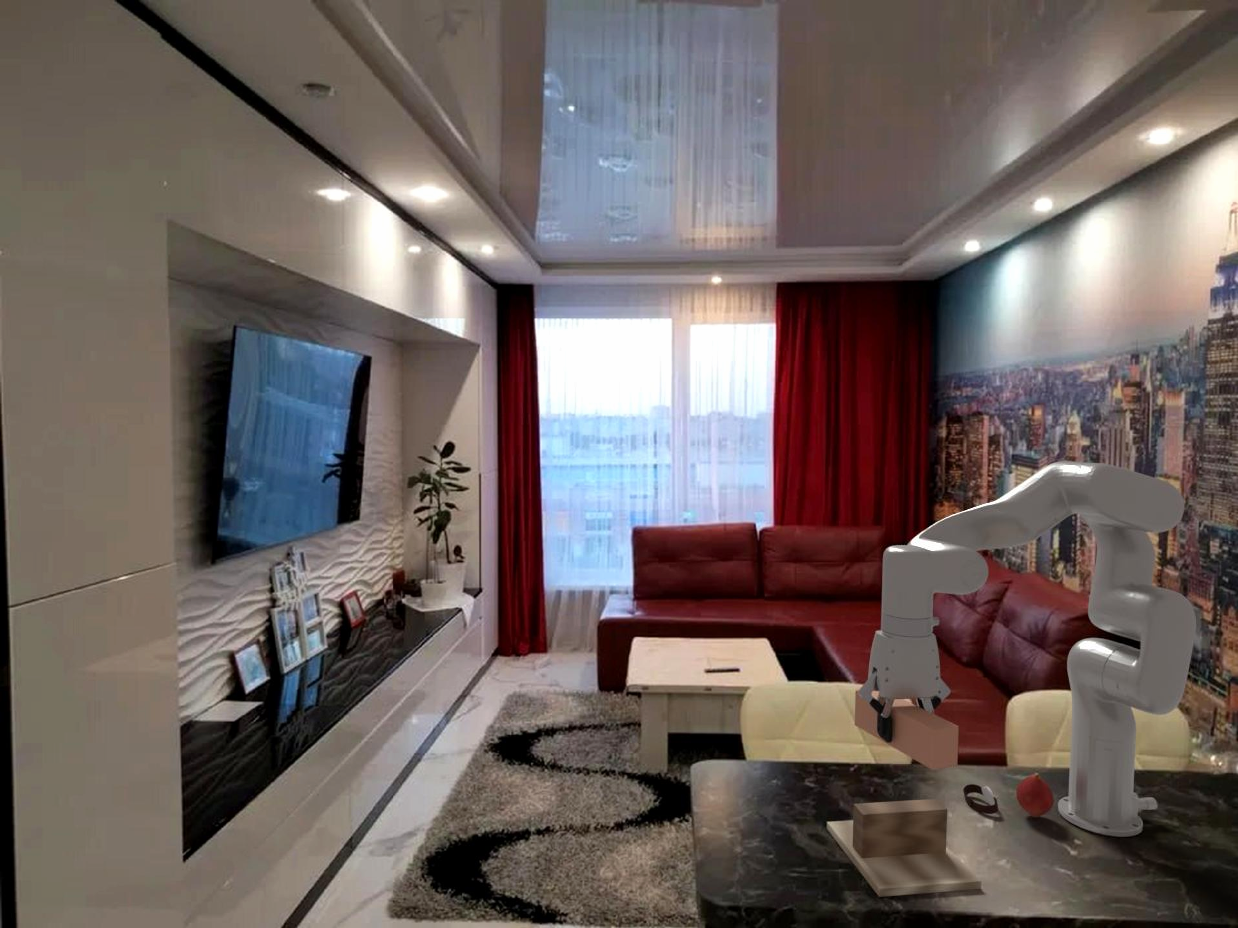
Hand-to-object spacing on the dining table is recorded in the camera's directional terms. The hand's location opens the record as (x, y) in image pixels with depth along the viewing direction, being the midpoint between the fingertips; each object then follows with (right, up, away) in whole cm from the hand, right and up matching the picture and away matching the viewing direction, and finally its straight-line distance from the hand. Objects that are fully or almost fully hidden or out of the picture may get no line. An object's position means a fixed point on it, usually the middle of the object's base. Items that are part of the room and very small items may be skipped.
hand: (903, 737), depth 122 cm
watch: (+21, -19, +18) cm, 33 cm away
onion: (+28, -19, +14) cm, 37 cm away
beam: (0, -1, 0) cm, 1 cm away
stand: (0, -19, +1) cm, 19 cm away
